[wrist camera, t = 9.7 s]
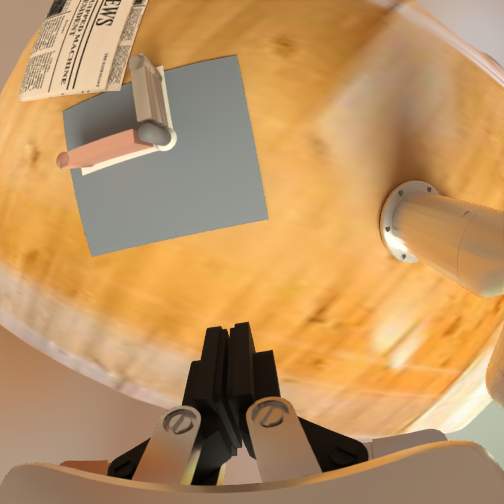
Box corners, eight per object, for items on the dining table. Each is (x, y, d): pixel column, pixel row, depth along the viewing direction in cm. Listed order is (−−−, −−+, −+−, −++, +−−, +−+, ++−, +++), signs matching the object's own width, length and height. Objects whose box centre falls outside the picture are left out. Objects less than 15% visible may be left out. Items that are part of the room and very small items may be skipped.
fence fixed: (161, 72, 30) (144, 52, 22) (170, 125, 32) (153, 116, 25) (147, 76, 30) (127, 58, 22) (155, 130, 32) (135, 121, 25)
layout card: (235, 50, 30) (235, 49, 29) (268, 218, 36) (268, 219, 36) (63, 106, 30) (62, 105, 29) (92, 256, 37) (91, 257, 36)
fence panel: (170, 129, 32) (154, 120, 25) (172, 144, 32) (157, 138, 26) (83, 155, 32) (55, 155, 25) (85, 169, 32) (57, 171, 26)
